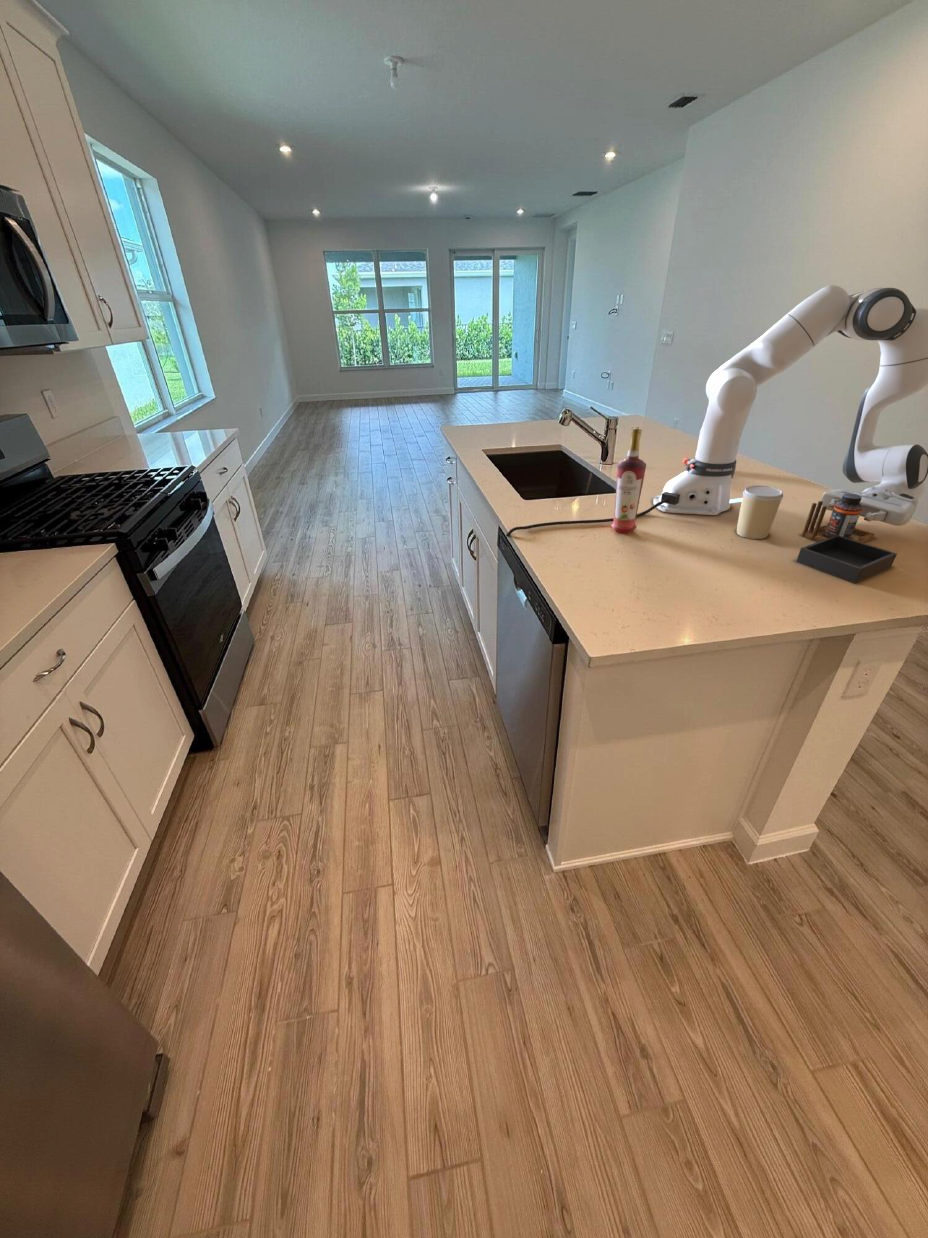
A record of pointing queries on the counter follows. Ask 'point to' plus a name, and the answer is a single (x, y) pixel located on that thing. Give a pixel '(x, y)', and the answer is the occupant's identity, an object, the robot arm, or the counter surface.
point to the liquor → (629, 486)
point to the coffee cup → (758, 511)
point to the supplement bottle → (844, 516)
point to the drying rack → (814, 531)
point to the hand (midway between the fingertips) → (848, 512)
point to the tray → (846, 558)
